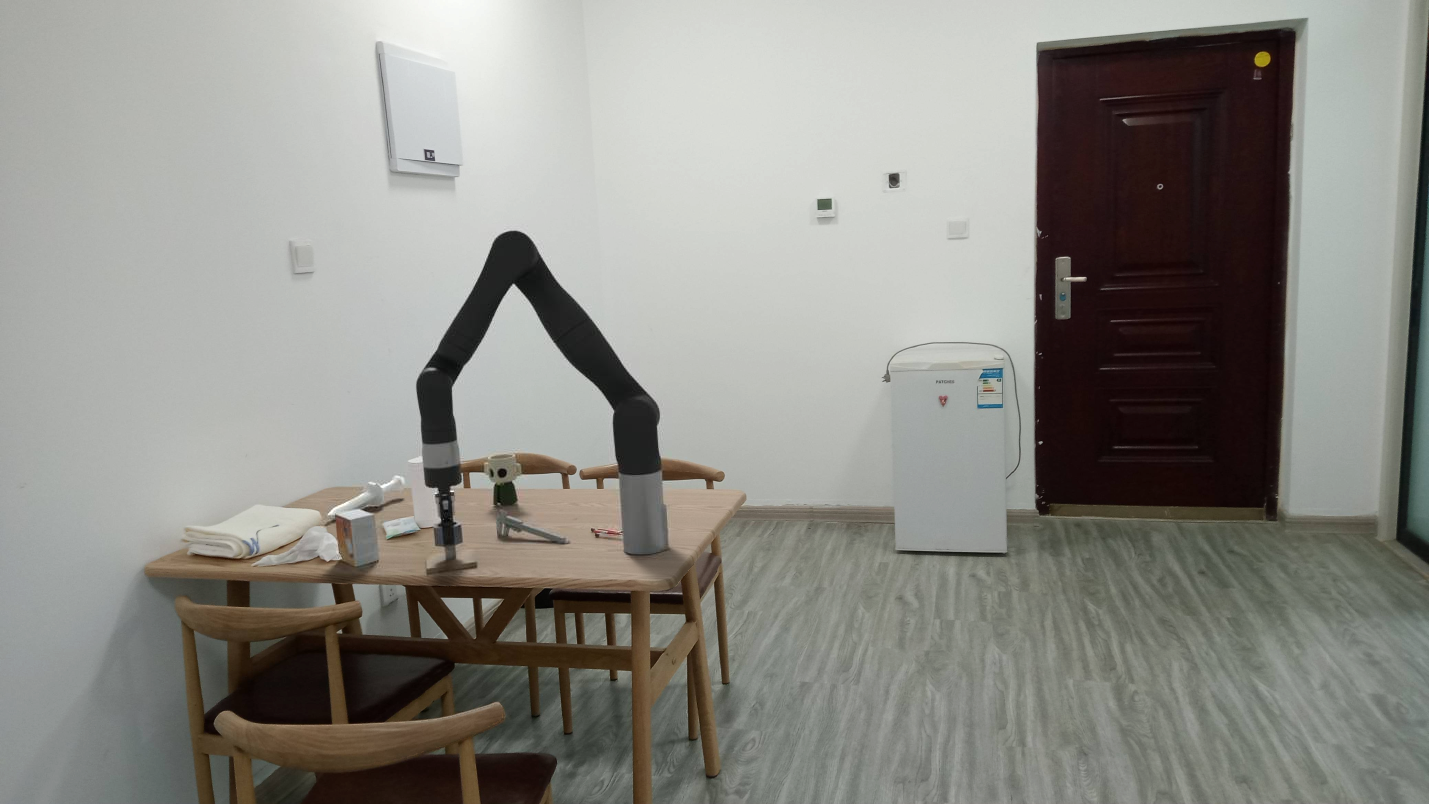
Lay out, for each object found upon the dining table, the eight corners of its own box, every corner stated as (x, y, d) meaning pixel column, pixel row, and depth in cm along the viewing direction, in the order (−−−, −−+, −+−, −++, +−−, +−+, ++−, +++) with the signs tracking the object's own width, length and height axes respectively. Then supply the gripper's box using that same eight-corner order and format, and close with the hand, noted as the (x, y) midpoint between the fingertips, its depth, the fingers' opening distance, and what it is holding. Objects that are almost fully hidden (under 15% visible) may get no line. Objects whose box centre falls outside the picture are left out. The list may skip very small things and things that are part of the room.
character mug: (480, 507, 243) (475, 459, 241) (495, 500, 249) (491, 453, 248) (516, 509, 239) (512, 460, 237) (531, 502, 246) (527, 454, 244)
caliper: (497, 536, 218) (494, 510, 217) (500, 535, 218) (497, 508, 217) (567, 544, 208) (565, 517, 207) (570, 543, 209) (568, 516, 208)
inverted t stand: (474, 552, 205) (472, 526, 204) (477, 566, 195) (474, 538, 194) (426, 559, 202) (424, 532, 201) (427, 573, 192) (424, 545, 191)
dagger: (336, 520, 233) (417, 478, 256) (320, 503, 233) (402, 462, 257) (326, 538, 237) (406, 494, 260) (310, 521, 237) (392, 479, 261)
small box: (339, 560, 204) (333, 513, 203) (364, 553, 208) (358, 507, 207) (354, 567, 199) (349, 519, 197) (380, 560, 202) (375, 513, 201)
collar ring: (462, 537, 201) (460, 519, 201) (463, 544, 196) (461, 526, 195) (434, 540, 200) (433, 522, 199) (435, 548, 194) (433, 529, 194)
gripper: (461, 467, 189) (468, 547, 192) (459, 454, 203) (465, 529, 206) (422, 471, 187) (430, 552, 190) (423, 457, 201) (430, 533, 204)
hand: (448, 540), depth 198 cm, fingers closed on collar ring, 5 cm apart
